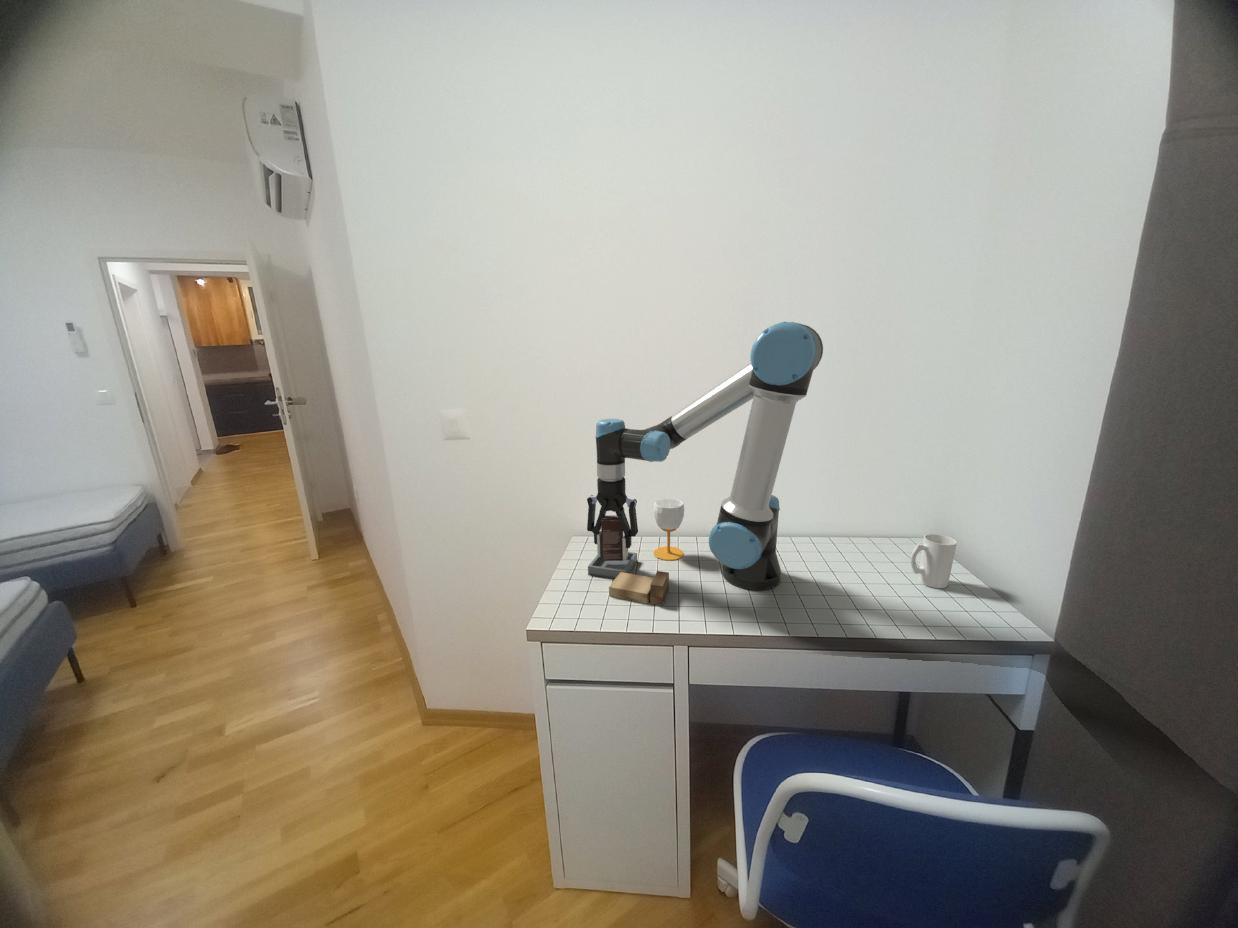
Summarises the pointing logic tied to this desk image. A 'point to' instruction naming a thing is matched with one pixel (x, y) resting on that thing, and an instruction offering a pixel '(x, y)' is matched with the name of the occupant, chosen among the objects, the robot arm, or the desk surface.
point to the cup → (668, 525)
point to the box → (611, 539)
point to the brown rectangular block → (659, 587)
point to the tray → (611, 566)
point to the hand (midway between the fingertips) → (612, 556)
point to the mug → (934, 560)
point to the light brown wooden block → (631, 587)
